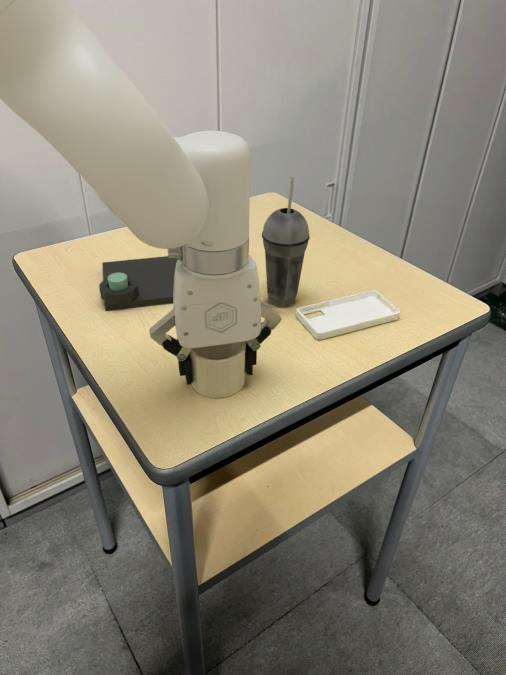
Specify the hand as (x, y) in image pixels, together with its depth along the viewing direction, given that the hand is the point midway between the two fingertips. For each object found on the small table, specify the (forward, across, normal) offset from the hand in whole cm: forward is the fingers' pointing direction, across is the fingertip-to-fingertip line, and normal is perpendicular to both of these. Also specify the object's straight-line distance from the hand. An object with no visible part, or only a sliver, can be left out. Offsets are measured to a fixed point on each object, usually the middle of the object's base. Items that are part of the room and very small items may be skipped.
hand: (218, 372), depth 68 cm
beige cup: (+1, 0, 0) cm, 1 cm away
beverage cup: (+1, +14, +17) cm, 22 cm away
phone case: (+1, +23, +10) cm, 25 cm away
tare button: (-1, -11, +22) cm, 25 cm away
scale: (+1, -6, +27) cm, 28 cm away
